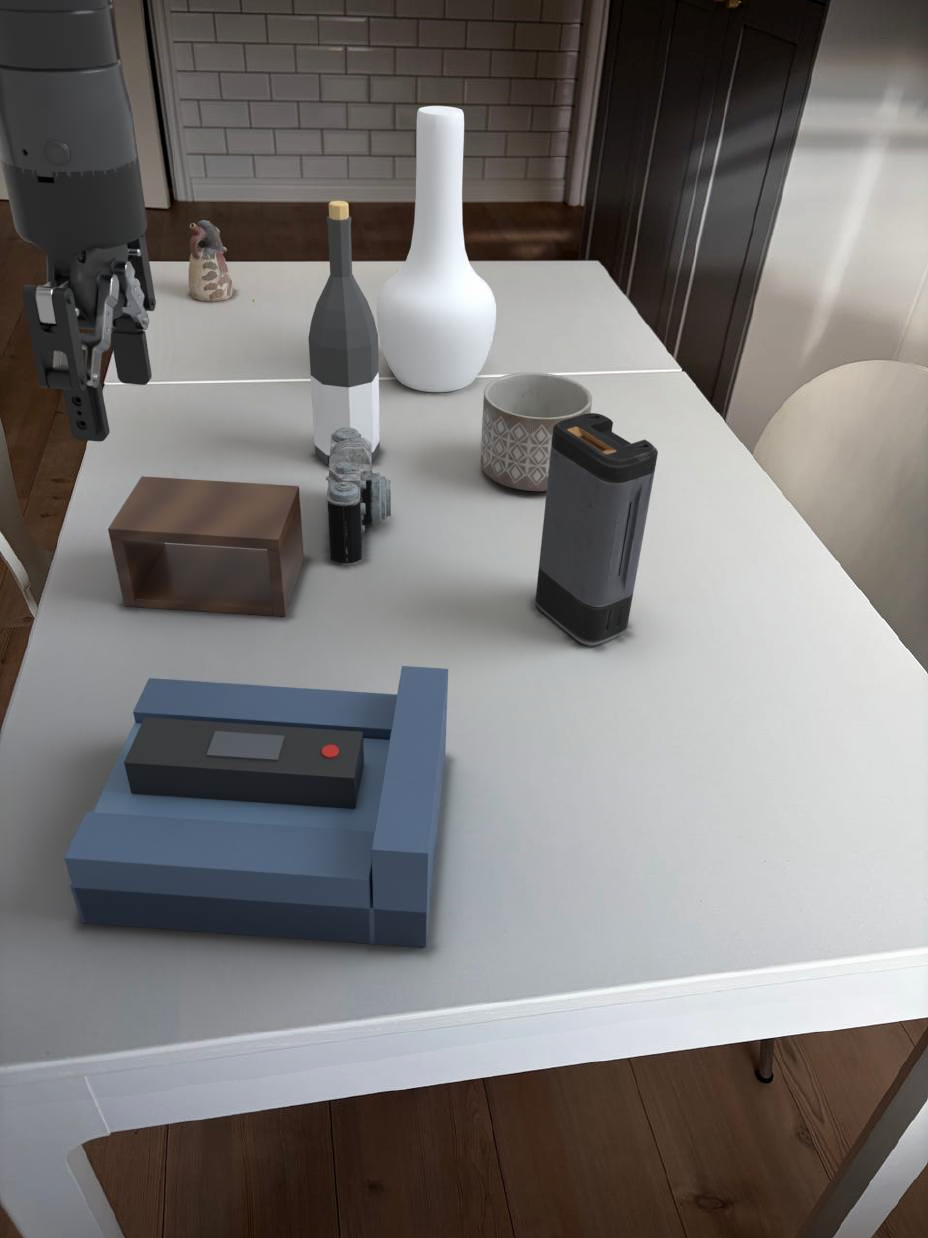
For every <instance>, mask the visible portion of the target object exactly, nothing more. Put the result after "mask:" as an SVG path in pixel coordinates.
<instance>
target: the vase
mask: <svg viewBox="0 0 928 1238" xmlns="http://www.w3.org/2000/svg"><path fill="white" fill-rule="evenodd" d="M464 139H465V114H464V110H463V109H461V108H458V107H454V106H445V105H429V106H422V107H419V108H418V110H417V112H416V141H415V142H416V144H415V145H416V151H415V152H416V156H415V157H416V163H415V165H416V167H415V169H416V170H415V202H414V220H413V221H414V222H413V228H412V229H413V230H412V235H411V236H412V237H411V243H410V248H409V252H408V254H407V256H406V259H405V262H404V263H403V264H402V266H401V267H400V269H398V271H397V272H395V273H394V274H393V275H392V276H391V277H389V278H388V279H387V280H386V281H385V282H384V283H383V285H382V287H381V289H380V291H379V294H378V296H377V302H376V322H377V323H376V324H377V332H378V337H379V340H380V344H381V348H382V351H383V355H384V358H385V360H386V363H387V364H388V366H389V368H390V370H391V372H392V374H393V375H394V376H395V378H396V379H397V381H398V382H399V383H401V384H402V385H404V386H405V387H407V388H410V389H411V390H416V391H419V392H427V393H449V392H455V391H459V390H462V389H465V388H466V387H469V386H470V385H471V384H472V383H473V382H474V381H475V380H476V378H477V376H478V375H479V374H480V372H481V371H482V370H483V367H484V365H485V363H486V361H487V359H488V355H489V353H490V351H491V347H492V343H493V339H494V335H495V331H496V330H495V329H496V324H497V323H496V322H497V304H496V303H497V302H496V299H495V296H494V292H493V291H492V289H491V287H490V286H489V284H488V283H487V282H486V281H485V280H484V279H483V278H482V277H481V276H480V275H478V274H477V273H476V271H475V270H474V268H473V267H472V265H471V263H470V261H469V258H468V254H467V251H466V246H465V237H464V236H465V235H464V225H463V175H464V173H463V170H464V146H465V145H464V144H465V140H464Z"/></svg>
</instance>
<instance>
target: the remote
mask: <svg viewBox="0 0 928 1238" xmlns="http://www.w3.org/2000/svg"><path fill="white" fill-rule="evenodd" d="M124 765H125V769H126V773H127V778H128V782H129V786H130V790H131V793H132V794H143V795H158V796H172V797H187V798H202V799H216V800H231V801H246V802H260V803H275V804H289V805H304V806H319V807H333V808H348V809H355V808H356V802H357V797H358V792H359V786H360V781H361V776H362V771H363V765H364V747H363V732H358V731H343V730H328V729H313V728H298V727H283V726H267V725H252V724H237V723H222V722H207V721H192V720H177V719H162V718H147V717H145V718H144V719H143V722H142V724H141V726H140V728H139V730H138V732H137V735H136V737H135V739H134V741H133V743H132V746H131V748H130V750H129V752H128V754H127V756H126V759H125V761H124Z"/></svg>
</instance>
